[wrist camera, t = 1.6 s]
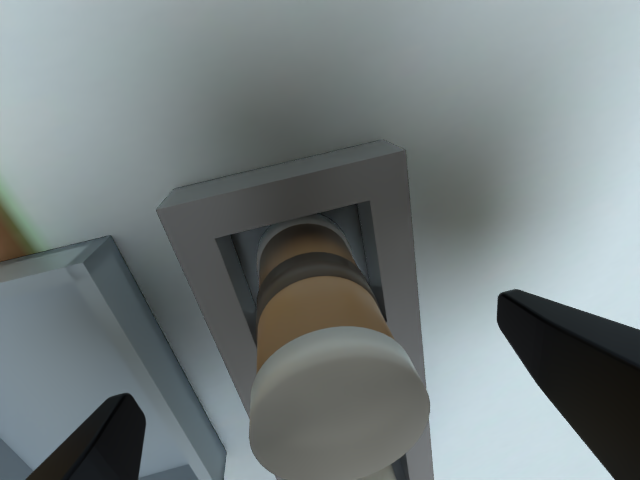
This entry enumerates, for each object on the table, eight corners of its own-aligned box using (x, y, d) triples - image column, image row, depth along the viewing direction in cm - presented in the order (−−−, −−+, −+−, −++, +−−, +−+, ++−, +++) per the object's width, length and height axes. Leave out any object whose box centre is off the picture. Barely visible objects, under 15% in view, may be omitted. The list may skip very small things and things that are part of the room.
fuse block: (419, 459, 19) (435, 499, 17) (299, 494, 19) (303, 537, 17) (383, 139, 11) (406, 150, 9) (173, 188, 11) (155, 209, 9)
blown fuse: (354, 281, 13) (434, 457, 7) (270, 302, 13) (276, 501, 7) (339, 202, 12) (424, 335, 6) (245, 225, 12) (222, 389, 5)
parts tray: (226, 452, 16) (221, 495, 15) (61, 498, 16) (36, 548, 14) (110, 235, 11) (82, 262, 9) (-141, 296, 11) (-217, 335, 9)
